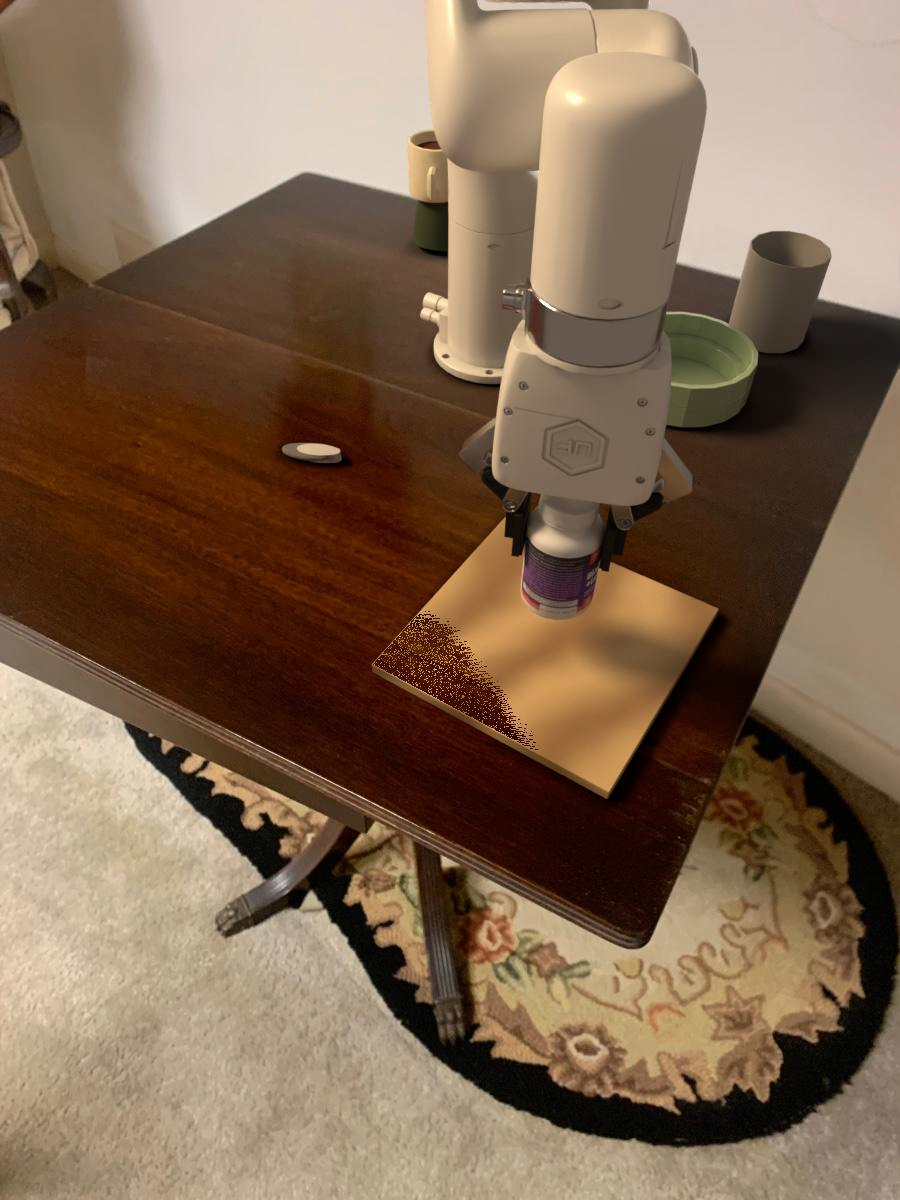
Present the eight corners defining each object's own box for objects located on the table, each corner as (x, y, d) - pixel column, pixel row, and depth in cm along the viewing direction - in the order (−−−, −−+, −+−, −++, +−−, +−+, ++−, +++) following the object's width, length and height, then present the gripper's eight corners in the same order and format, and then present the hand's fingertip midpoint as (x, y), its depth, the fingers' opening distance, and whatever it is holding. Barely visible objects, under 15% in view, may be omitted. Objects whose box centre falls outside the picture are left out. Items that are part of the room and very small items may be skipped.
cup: (804, 357, 98) (834, 271, 90) (728, 348, 99) (751, 263, 91) (800, 318, 103) (827, 234, 96) (728, 310, 104) (750, 227, 97)
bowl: (585, 400, 92) (592, 358, 88) (643, 339, 100) (651, 298, 96) (715, 447, 87) (727, 405, 83) (764, 378, 95) (777, 337, 91)
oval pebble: (278, 460, 86) (276, 451, 85) (289, 445, 87) (286, 435, 86) (336, 469, 84) (334, 459, 83) (345, 453, 85) (344, 444, 85)
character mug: (459, 267, 111) (461, 159, 101) (403, 263, 112) (400, 155, 102) (469, 228, 118) (471, 124, 109) (416, 224, 119) (414, 120, 109)
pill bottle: (596, 623, 64) (615, 523, 57) (521, 622, 64) (531, 522, 57) (589, 569, 68) (606, 470, 60) (518, 568, 68) (527, 468, 60)
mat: (372, 672, 68) (371, 664, 67) (505, 524, 79) (505, 515, 78) (607, 799, 61) (609, 792, 60) (716, 616, 72) (719, 608, 71)
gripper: (428, 331, 48) (431, 567, 61) (754, 373, 45) (683, 610, 59) (459, 266, 53) (455, 497, 66) (754, 301, 50) (688, 534, 63)
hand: (562, 548), depth 62 cm, fingers closed on pill bottle, 5 cm apart
